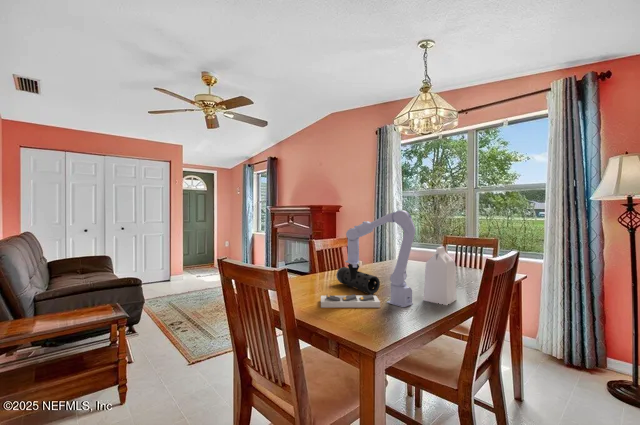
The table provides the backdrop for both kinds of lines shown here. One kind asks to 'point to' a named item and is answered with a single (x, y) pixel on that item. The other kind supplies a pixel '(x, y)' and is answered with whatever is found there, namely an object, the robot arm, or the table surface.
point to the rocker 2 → (367, 298)
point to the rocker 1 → (332, 298)
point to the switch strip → (350, 302)
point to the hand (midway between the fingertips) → (353, 279)
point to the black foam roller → (359, 280)
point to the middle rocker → (349, 298)
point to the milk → (440, 278)
